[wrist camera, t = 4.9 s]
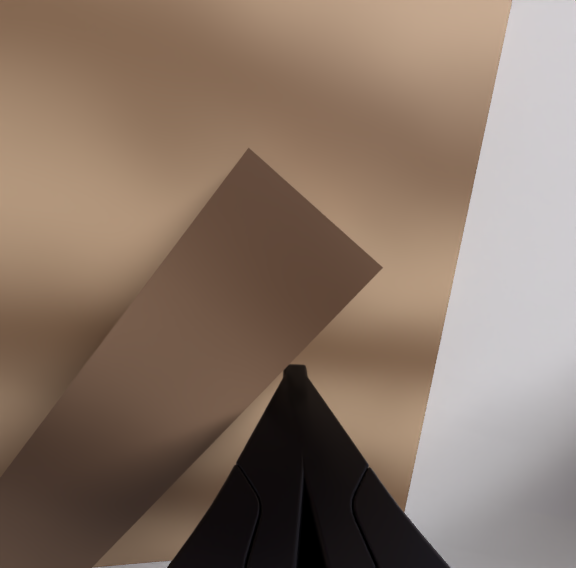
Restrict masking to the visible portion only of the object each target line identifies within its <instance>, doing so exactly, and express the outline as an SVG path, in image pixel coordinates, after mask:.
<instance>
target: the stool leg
mask: <svg viewBox="0 0 576 568" xmlns="http://www.w3.org/2000/svg"><path fill="white" fill-rule="evenodd" d="M382 268H383V267H382V266H381V265H380V264H378V263H377V262H376V261H375V260H374V259H373V258H372V257H371V256H369V255H368V254H367V253H366V252H365V251H364V250H363V249H362V248H361V247H359V246H358V245H357V244H356V243H355V242H354V241H353V240H352V239H350V238H349V237H348V236H347V235H346V234H345V233H344V232H343V231H342V230H340V229H339V228H338V227H337V226H336V225H335V224H334V223H333V222H331V221H330V220H329V219H328V218H327V217H326V216H325V215H324V214H322V213H321V212H320V211H319V210H318V209H317V208H316V207H315V206H314V205H312V204H311V203H310V202H309V201H308V200H307V199H306V198H305V197H303V196H302V195H301V194H300V193H299V192H298V191H297V190H296V189H295V188H293V187H292V186H291V185H290V184H289V183H288V182H287V181H286V180H284V179H283V178H282V177H281V176H280V175H279V174H278V173H277V172H275V171H274V170H273V169H272V168H271V167H270V166H269V165H268V164H267V163H265V162H264V161H263V160H262V159H261V158H260V157H259V156H258V155H256V154H255V153H254V152H253V151H252V150H251V149H250V148H248V149H247V150H246V152H245V153H244V154H243V156H242V157H241V158H240V160H239V161H238V162H237V164H236V165H235V166H234V168H233V169H232V170H231V172H230V173H229V174H228V176H227V177H226V178H225V180H224V181H223V182H222V184H221V185H220V186H219V188H218V189H217V190H216V192H215V193H214V194H213V196H212V197H211V198H210V199H209V201H208V202H207V203H206V205H205V206H204V207H203V209H202V210H201V211H200V213H199V214H198V215H197V217H196V218H195V219H194V221H193V222H192V223H191V225H190V226H189V227H188V229H187V230H186V231H185V233H184V234H183V235H182V237H181V238H180V239H179V241H178V242H177V243H176V245H175V246H174V247H173V249H172V250H171V251H170V253H169V254H168V255H167V257H166V258H165V259H164V261H163V262H162V263H161V265H160V266H159V267H158V269H157V270H156V271H155V273H154V274H153V275H152V277H151V278H150V279H149V281H148V282H147V283H146V285H145V286H144V287H143V289H142V290H141V291H140V293H139V294H138V295H137V296H136V298H135V299H134V300H133V302H132V303H131V304H130V306H129V307H128V308H127V310H126V311H125V312H124V314H123V315H122V316H121V318H120V319H119V320H118V322H117V323H116V324H115V326H114V327H113V328H112V330H111V331H110V332H109V334H108V335H107V336H106V338H105V339H104V340H103V342H102V343H101V344H100V346H99V347H98V348H97V350H96V351H95V352H94V354H93V355H92V356H91V358H90V359H89V360H88V362H87V363H86V364H85V366H84V367H83V368H82V370H81V371H80V372H79V374H78V375H77V376H76V378H75V379H74V380H73V382H72V383H71V384H70V386H69V387H68V388H67V390H66V391H65V392H64V393H63V395H62V396H61V397H60V399H59V400H58V401H57V403H56V404H55V405H54V407H53V408H52V409H51V411H50V412H49V413H48V415H47V416H46V417H45V419H44V420H43V421H42V423H41V424H40V425H39V427H38V428H37V429H36V431H35V432H34V433H33V435H32V436H31V437H30V439H29V440H28V441H27V443H26V444H25V445H24V447H23V448H22V449H21V451H20V452H19V453H18V455H17V456H16V457H15V459H14V460H13V461H12V463H11V464H10V465H9V467H8V468H7V469H6V471H5V472H4V473H3V475H2V476H1V477H0V568H92V567H93V566H94V565H95V564H96V563H97V562H98V561H99V560H100V559H101V558H102V557H103V556H104V555H105V554H106V553H107V552H108V551H109V550H110V549H111V548H112V547H113V545H114V544H115V543H116V542H117V541H118V540H119V539H120V538H121V537H122V536H123V535H124V534H125V533H126V532H127V531H128V530H129V529H130V528H131V527H132V526H133V525H134V524H135V523H136V522H137V521H138V520H139V519H140V518H141V517H142V516H143V515H144V514H145V512H146V511H147V510H148V509H149V508H150V507H151V506H152V505H153V504H154V503H155V502H156V501H157V500H158V499H159V498H160V497H161V496H162V495H163V494H164V493H165V492H166V491H167V490H168V489H169V488H170V487H171V486H172V485H173V484H174V483H175V482H176V481H177V480H178V478H179V477H180V476H181V475H182V474H183V473H184V472H185V471H186V470H187V469H188V468H189V467H190V466H191V465H192V464H193V463H194V462H195V461H196V460H197V459H198V458H199V457H200V456H201V455H202V454H203V453H204V452H205V451H206V450H207V449H208V448H209V447H210V446H211V444H212V443H213V442H214V441H215V440H216V439H217V438H218V437H219V436H220V435H221V434H222V433H223V432H224V431H225V430H226V429H227V428H228V427H229V426H230V425H231V424H232V423H233V422H234V421H235V420H236V419H237V418H238V417H239V416H240V415H241V414H242V413H243V412H244V410H245V409H246V408H247V407H248V406H249V405H250V404H251V403H252V402H253V401H254V400H255V399H256V398H257V397H258V396H259V395H260V394H261V393H262V392H263V391H264V390H265V389H266V388H267V387H268V386H269V385H270V384H271V383H272V382H273V381H274V380H275V379H276V378H277V376H278V375H279V374H280V373H281V372H282V371H283V370H284V369H285V368H286V367H287V366H288V365H289V364H290V363H291V362H292V361H293V360H294V359H295V358H296V357H297V356H298V355H299V354H300V353H301V352H302V351H303V350H304V349H305V348H306V347H307V346H308V345H309V343H310V342H311V341H312V340H313V339H314V338H315V337H316V336H317V335H318V334H319V333H320V332H321V331H322V330H323V329H324V328H325V327H326V326H327V325H328V324H329V323H330V322H331V321H332V320H333V319H334V318H335V317H336V316H337V315H338V314H339V313H340V312H341V311H342V309H343V308H344V307H345V306H346V305H347V304H348V303H349V302H350V301H351V300H352V299H353V298H354V297H355V296H356V295H357V294H358V293H359V292H360V291H361V290H362V289H363V288H364V287H365V286H366V285H367V284H368V283H369V282H370V281H371V280H372V279H373V278H374V277H375V275H376V274H377V273H378V272H379V271H380V270H381V269H382Z"/></svg>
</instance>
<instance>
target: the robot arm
mask: <svg viewBox="0 0 576 568" xmlns="http://www.w3.org/2000/svg"><path fill="white" fill-rule="evenodd" d="M167 568H450V567H449V566H448V564H447V563H446V562H445V561H444V560H443V558H442V557H441V556H440V555H439V554H438V553H437V551H436V550H435V549H434V548H433V547H432V546H431V544H430V543H429V542H428V541H427V540H426V539H425V537H424V536H423V535H422V534H421V533H420V531H419V530H418V529H417V528H416V526H415V525H414V524H413V523H412V522H411V520H410V519H409V518H408V517H407V516H406V514H405V513H404V512H403V511H402V509H401V508H400V507H399V506H398V504H397V503H396V501H395V500H394V499H393V497H392V496H391V495H390V493H389V492H388V491H387V489H386V488H385V487H384V485H383V484H382V482H381V481H380V480H379V478H378V477H377V475H376V474H375V472H374V471H373V469H372V468H371V467H369V464H368V463H367V461H366V460H365V458H364V457H363V455H362V454H361V452H360V451H359V450H358V448H357V447H356V445H355V444H354V442H353V441H352V440H351V438H350V437H349V435H348V434H347V432H346V431H345V430H344V428H343V427H342V425H341V424H340V422H339V421H338V419H337V418H336V417H335V415H334V414H333V412H332V411H331V409H330V408H329V407H328V405H327V404H326V402H325V401H324V399H323V398H322V397H321V395H320V394H319V392H318V391H317V389H316V388H315V386H314V385H313V384H312V382H311V381H310V379H309V378H308V374H307V368H306V366H305V365H303V364H289V365H288V366H287V367H286V368H285V369H284V370H283V378H282V380H281V382H280V384H279V386H278V387H277V389H276V391H275V393H274V395H273V396H272V398H271V400H270V402H269V404H268V405H267V407H266V409H265V411H264V413H263V415H262V416H261V418H260V420H259V422H258V424H257V425H256V427H255V429H254V431H253V433H252V434H251V436H250V438H249V440H248V442H247V443H246V445H245V447H244V449H243V451H242V452H241V454H240V456H239V458H238V460H237V461H236V465H234V466H233V468H232V470H231V472H230V474H229V475H228V477H227V479H226V481H225V483H224V484H223V486H222V488H221V489H220V491H219V493H218V494H217V496H216V498H215V499H214V501H213V503H212V504H211V506H210V507H209V509H208V510H207V512H206V513H205V515H204V516H203V518H202V519H201V520H200V522H199V523H198V525H197V526H196V528H195V529H194V531H193V532H192V534H191V535H190V536H189V538H188V539H187V541H186V542H185V543H184V545H183V546H182V547H181V549H180V550H179V552H178V553H177V554H176V556H175V557H174V559H173V560H172V561H171V563H170V564H169V566H168V567H167Z"/></svg>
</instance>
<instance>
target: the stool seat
mask: <svg viewBox="0 0 576 568" xmlns="http://www.w3.org/2000/svg"><path fill="white" fill-rule="evenodd" d="M511 3H512V0H0V477H1V476H2V475H3V473H4V472H5V471H6V469H7V468H8V467H9V465H10V464H11V463H12V461H13V460H14V459H15V457H16V456H17V455H18V453H19V452H20V451H21V449H22V448H23V447H24V445H25V444H26V443H27V441H28V440H29V439H30V437H31V436H32V435H33V433H34V432H35V431H36V429H37V428H38V427H39V425H40V424H41V423H42V421H43V420H44V419H45V417H46V416H47V415H48V413H49V412H50V411H51V409H52V408H53V407H54V405H55V404H56V403H57V401H58V400H59V399H60V397H61V396H62V395H63V393H64V392H65V391H66V390H67V388H68V387H69V386H70V384H71V383H72V382H73V380H74V379H75V378H76V376H77V375H78V374H79V372H80V371H81V370H82V368H83V367H84V366H85V364H86V363H87V362H88V360H89V359H90V358H91V356H92V355H93V354H94V352H95V351H96V350H97V348H98V347H99V346H100V344H101V343H102V342H103V340H104V339H105V338H106V336H107V335H108V334H109V332H110V331H111V330H112V328H113V327H114V326H115V324H116V323H117V322H118V320H119V319H120V318H121V316H122V315H123V314H124V312H125V311H126V310H127V308H128V307H129V306H130V304H131V303H132V302H133V300H134V299H135V298H136V296H137V295H138V294H139V293H140V291H141V290H142V289H143V287H144V286H145V285H146V283H147V282H148V281H149V279H150V278H151V277H152V275H153V274H154V273H155V271H156V270H157V269H158V267H159V266H160V265H161V263H162V262H163V261H164V259H165V258H166V257H167V255H168V254H169V253H170V251H171V250H172V249H173V247H174V246H175V245H176V243H177V242H178V241H179V239H180V238H181V237H182V235H183V234H184V233H185V231H186V230H187V229H188V227H189V226H190V225H191V223H192V222H193V221H194V219H195V218H196V217H197V215H198V214H199V213H200V211H201V210H202V209H203V207H204V206H205V205H206V203H207V202H208V201H209V199H210V198H211V197H212V196H213V194H214V193H215V192H216V190H217V189H218V188H219V186H220V185H221V184H222V182H223V181H224V180H225V178H226V177H227V176H228V174H229V173H230V172H231V170H232V169H233V168H234V166H235V165H236V164H237V162H238V161H239V160H240V158H241V157H242V156H243V154H244V153H245V152H246V150H247V149H248V148H250V149H251V150H252V151H253V152H254V153H255V154H256V155H258V156H259V157H260V158H261V159H262V160H263V161H264V162H265V163H267V164H268V165H269V166H270V167H271V168H272V169H273V170H274V171H275V172H277V173H278V174H279V175H280V176H281V177H282V178H283V179H284V180H286V181H287V182H288V183H289V184H290V185H291V186H292V187H293V188H295V189H296V190H297V191H298V192H299V193H300V194H301V195H302V196H303V197H305V198H306V199H307V200H308V201H309V202H310V203H311V204H312V205H314V206H315V207H316V208H317V209H318V210H319V211H320V212H321V213H322V214H324V215H325V216H326V217H327V218H328V219H329V220H330V221H331V222H333V223H334V224H335V225H336V226H337V227H338V228H339V229H340V230H342V231H343V232H344V233H345V234H346V235H347V236H348V237H349V238H350V239H352V240H353V241H354V242H355V243H356V244H357V245H358V246H359V247H361V248H362V249H363V250H364V251H365V252H366V253H367V254H368V255H369V256H371V257H372V258H373V259H374V260H375V261H376V262H377V263H378V264H380V265H381V266H382V267H383V268H382V269H381V270H380V271H379V272H378V273H377V274H376V275H375V277H374V278H373V279H372V280H371V281H370V282H369V283H368V284H367V285H366V286H365V287H364V288H363V289H362V290H361V291H360V292H359V293H358V294H357V295H356V296H355V297H354V298H353V299H352V300H351V301H350V302H349V303H348V304H347V305H346V306H345V307H344V308H343V309H342V311H341V312H340V313H339V314H338V315H337V316H336V317H335V318H334V319H333V320H332V321H331V322H330V323H329V324H328V325H327V326H326V327H325V328H324V329H323V330H322V331H321V332H320V333H319V334H318V335H317V336H316V337H315V338H314V339H313V340H312V341H311V342H310V343H309V345H308V346H307V347H306V348H305V349H304V350H303V351H302V352H301V353H300V354H299V355H298V356H297V357H296V358H295V359H294V360H293V361H292V362H291V363H290V364H303V365H305V366H306V368H307V374H308V378H309V379H310V381H311V382H312V384H313V385H314V386H315V388H316V389H317V391H318V392H319V394H320V395H321V397H322V398H323V399H324V401H325V402H326V404H327V405H328V407H329V408H330V409H331V411H332V412H333V414H334V415H335V417H336V418H337V419H338V421H339V422H340V424H341V425H342V427H343V428H344V430H345V431H346V432H347V434H348V435H349V437H350V438H351V440H352V441H353V442H354V444H355V445H356V447H357V448H358V450H359V451H360V452H361V454H362V455H363V457H364V458H365V460H366V461H367V463H368V464H369V467H371V468H372V469H373V471H374V472H375V474H376V475H377V477H378V478H379V480H380V481H381V482H382V484H383V485H384V487H385V488H386V489H387V491H388V492H389V493H390V495H391V496H392V497H393V499H394V500H395V501H396V503H397V504H398V506H399V507H400V508H401V509H402V511H403V512H404V511H405V506H406V501H407V497H408V492H409V487H410V482H411V478H412V473H413V468H414V463H415V459H416V454H417V449H418V444H419V440H420V435H421V430H422V425H423V421H424V416H425V411H426V406H427V402H428V397H429V392H430V387H431V383H432V378H433V373H434V369H435V364H436V359H437V354H438V350H439V345H440V340H441V335H442V331H443V326H444V321H445V316H446V312H447V307H448V302H449V297H450V293H451V288H452V283H453V278H454V274H455V269H456V264H457V259H458V255H459V250H460V245H461V241H462V236H463V231H464V226H465V222H466V217H467V212H468V207H469V203H470V198H471V193H472V188H473V184H474V179H475V174H476V169H477V165H478V160H479V155H480V150H481V146H482V141H483V136H484V131H485V127H486V122H487V117H488V113H489V108H490V103H491V98H492V94H493V89H494V84H495V79H496V75H497V70H498V65H499V60H500V56H501V51H502V46H503V41H504V37H505V32H506V27H507V22H508V18H509V13H510V8H511ZM282 378H283V371H282V372H281V373H280V374H279V375H278V376H277V378H276V379H275V380H274V381H273V382H272V383H271V384H270V385H269V386H268V387H267V388H266V389H265V390H264V391H263V392H262V393H261V394H260V395H259V396H258V397H257V398H256V399H255V400H254V401H253V402H252V403H251V404H250V405H249V406H248V407H247V408H246V409H245V410H244V412H243V413H242V414H241V415H240V416H239V417H238V418H237V419H236V420H235V421H234V422H233V423H232V424H231V425H230V426H229V427H228V428H227V429H226V430H225V431H224V432H223V433H222V434H221V435H220V436H219V437H218V438H217V439H216V440H215V441H214V442H213V443H212V444H211V446H210V447H209V448H208V449H207V450H206V451H205V452H204V453H203V454H202V455H201V456H200V457H199V458H198V459H197V460H196V461H195V462H194V463H193V464H192V465H191V466H190V467H189V468H188V469H187V470H186V471H185V472H184V473H183V474H182V475H181V476H180V477H179V478H178V480H177V481H176V482H175V483H174V484H173V485H172V486H171V487H170V488H169V489H168V490H167V491H166V492H165V493H164V494H163V495H162V496H161V497H160V498H159V499H158V500H157V501H156V502H155V503H154V504H153V505H152V506H151V507H150V508H149V509H148V510H147V511H146V512H145V514H144V515H143V516H142V517H141V518H140V519H139V520H138V521H137V522H136V523H135V524H134V525H133V526H132V527H131V528H130V529H129V530H128V531H127V532H126V533H125V534H124V535H123V536H122V537H121V538H120V539H119V540H118V541H117V542H116V543H115V544H114V545H113V547H112V548H111V549H110V550H109V551H108V552H107V553H106V554H105V555H104V556H103V557H102V558H101V559H100V560H99V561H98V562H97V563H96V564H95V565H94V566H93V567H102V566H114V565H125V564H137V563H148V562H159V561H171V560H173V559H174V557H175V556H176V554H177V553H178V552H179V550H180V549H181V547H182V546H183V545H184V543H185V542H186V541H187V539H188V538H189V536H190V535H191V534H192V532H193V531H194V529H195V528H196V526H197V525H198V523H199V522H200V520H201V519H202V518H203V516H204V515H205V513H206V512H207V510H208V509H209V507H210V506H211V504H212V503H213V501H214V499H215V498H216V496H217V494H218V493H219V491H220V489H221V488H222V486H223V484H224V483H225V481H226V479H227V477H228V475H229V474H230V472H231V470H232V468H233V466H234V465H236V461H237V460H238V458H239V456H240V454H241V452H242V451H243V449H244V447H245V445H246V443H247V442H248V440H249V438H250V436H251V434H252V433H253V431H254V429H255V427H256V425H257V424H258V422H259V420H260V418H261V416H262V415H263V413H264V411H265V409H266V407H267V405H268V404H269V402H270V400H271V398H272V396H273V395H274V393H275V391H276V389H277V387H278V386H279V384H280V382H281V380H282Z"/></svg>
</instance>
